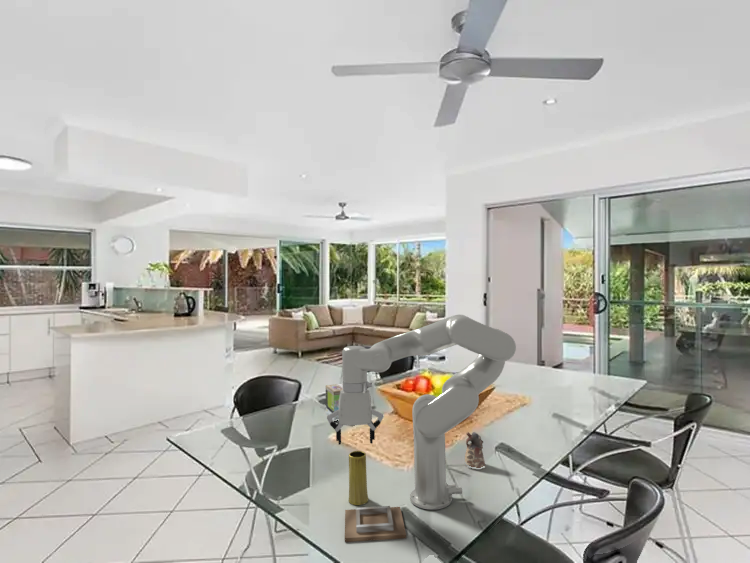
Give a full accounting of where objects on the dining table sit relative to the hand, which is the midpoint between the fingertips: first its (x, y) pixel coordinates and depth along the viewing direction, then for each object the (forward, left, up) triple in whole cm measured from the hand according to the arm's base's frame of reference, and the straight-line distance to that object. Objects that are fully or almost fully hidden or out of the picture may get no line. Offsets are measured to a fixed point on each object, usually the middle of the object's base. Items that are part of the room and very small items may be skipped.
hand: (355, 442), depth 135 cm
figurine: (-42, -20, -18) cm, 50 cm away
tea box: (+8, -84, -18) cm, 86 cm away
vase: (0, 0, -18) cm, 18 cm away
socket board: (-4, +14, -18) cm, 23 cm away
